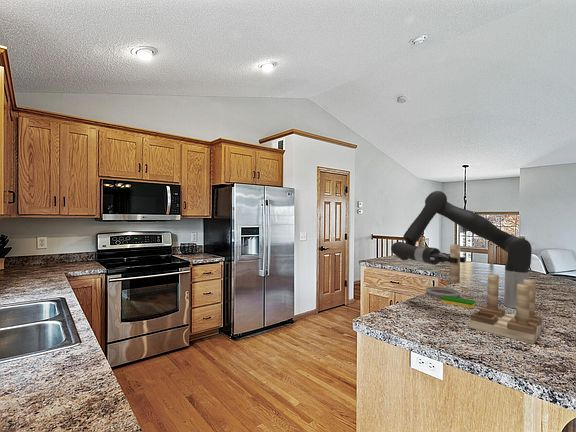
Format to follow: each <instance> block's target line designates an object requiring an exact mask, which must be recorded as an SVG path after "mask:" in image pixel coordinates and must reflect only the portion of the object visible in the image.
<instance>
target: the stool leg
mask: <svg viewBox="0 0 576 432" xmlns="http://www.w3.org/2000/svg"><path fill="white" fill-rule="evenodd" d="M449 254H450V257H453V258H458V263H450V262H449V283H451V284H460V283H461V282H460V280H461V262H460V257H461V244H457V243H450V245H449Z"/></svg>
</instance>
